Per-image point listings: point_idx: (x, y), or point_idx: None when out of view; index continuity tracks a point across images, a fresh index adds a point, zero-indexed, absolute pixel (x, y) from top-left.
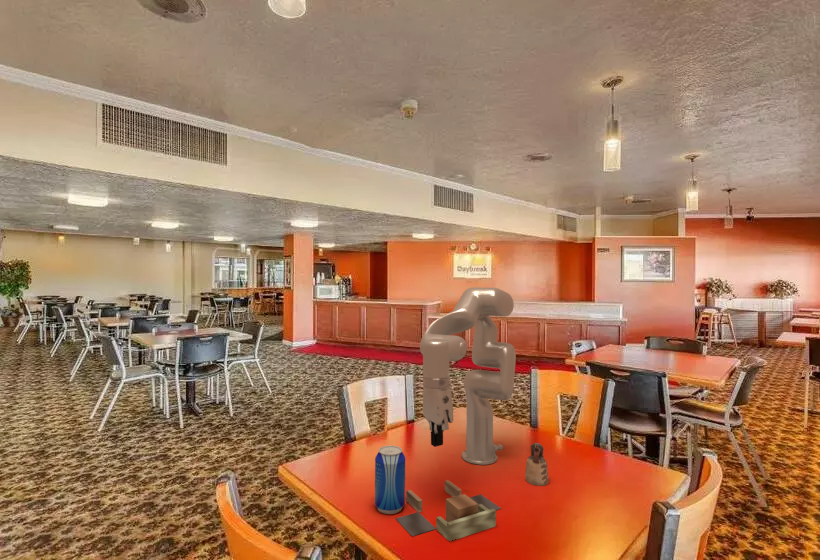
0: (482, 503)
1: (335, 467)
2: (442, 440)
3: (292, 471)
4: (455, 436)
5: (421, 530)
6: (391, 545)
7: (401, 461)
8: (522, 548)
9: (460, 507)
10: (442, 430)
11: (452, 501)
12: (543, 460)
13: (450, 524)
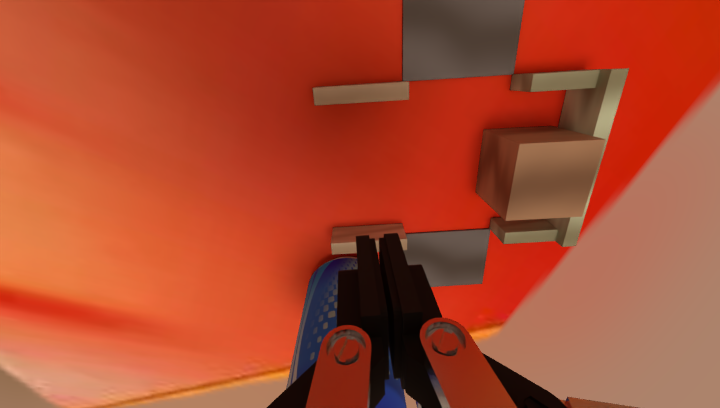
0: (463, 19)
1: (79, 330)
2: (401, 253)
3: (100, 403)
4: None
5: (477, 260)
6: (481, 321)
7: (402, 402)
8: (706, 69)
9: (576, 205)
10: (495, 373)
11: (531, 209)
12: None
13: (575, 242)
